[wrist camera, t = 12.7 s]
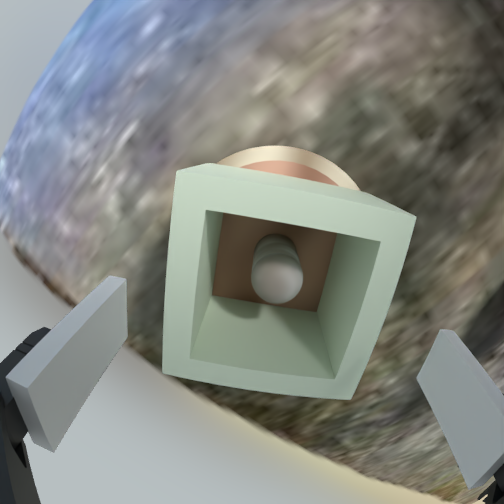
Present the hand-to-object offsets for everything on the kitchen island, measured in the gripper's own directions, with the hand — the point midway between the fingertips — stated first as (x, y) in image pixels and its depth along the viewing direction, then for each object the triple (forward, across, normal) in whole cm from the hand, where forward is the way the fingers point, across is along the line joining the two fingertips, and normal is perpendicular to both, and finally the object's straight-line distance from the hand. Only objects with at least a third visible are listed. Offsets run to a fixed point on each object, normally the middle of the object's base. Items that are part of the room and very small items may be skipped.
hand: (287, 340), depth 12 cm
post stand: (+13, 0, 0) cm, 13 cm away
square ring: (+11, 0, 0) cm, 11 cm away
